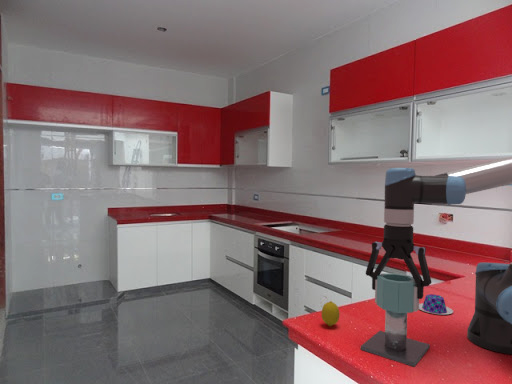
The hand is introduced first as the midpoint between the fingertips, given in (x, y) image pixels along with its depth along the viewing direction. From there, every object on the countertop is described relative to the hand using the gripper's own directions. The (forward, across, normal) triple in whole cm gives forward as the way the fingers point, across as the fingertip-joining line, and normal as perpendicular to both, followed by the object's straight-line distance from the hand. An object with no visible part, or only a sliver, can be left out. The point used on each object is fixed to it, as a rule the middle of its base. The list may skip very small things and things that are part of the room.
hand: (396, 305), depth 98 cm
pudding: (+12, -1, -42) cm, 44 cm away
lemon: (+12, +21, -2) cm, 24 cm away
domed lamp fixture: (+12, 0, 0) cm, 12 cm away
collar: (0, 0, 0) cm, 0 cm away
